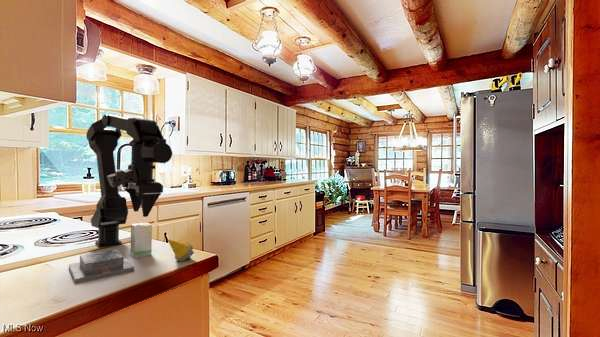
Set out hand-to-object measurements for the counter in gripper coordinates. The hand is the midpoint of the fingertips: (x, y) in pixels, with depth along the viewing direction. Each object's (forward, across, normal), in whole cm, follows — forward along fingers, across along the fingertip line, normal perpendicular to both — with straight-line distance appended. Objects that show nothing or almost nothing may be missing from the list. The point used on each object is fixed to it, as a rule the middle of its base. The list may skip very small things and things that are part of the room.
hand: (140, 213), depth 86 cm
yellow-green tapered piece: (+12, +13, +7) cm, 19 cm away
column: (+12, 0, 0) cm, 12 cm away
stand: (+12, +7, -10) cm, 17 cm away
